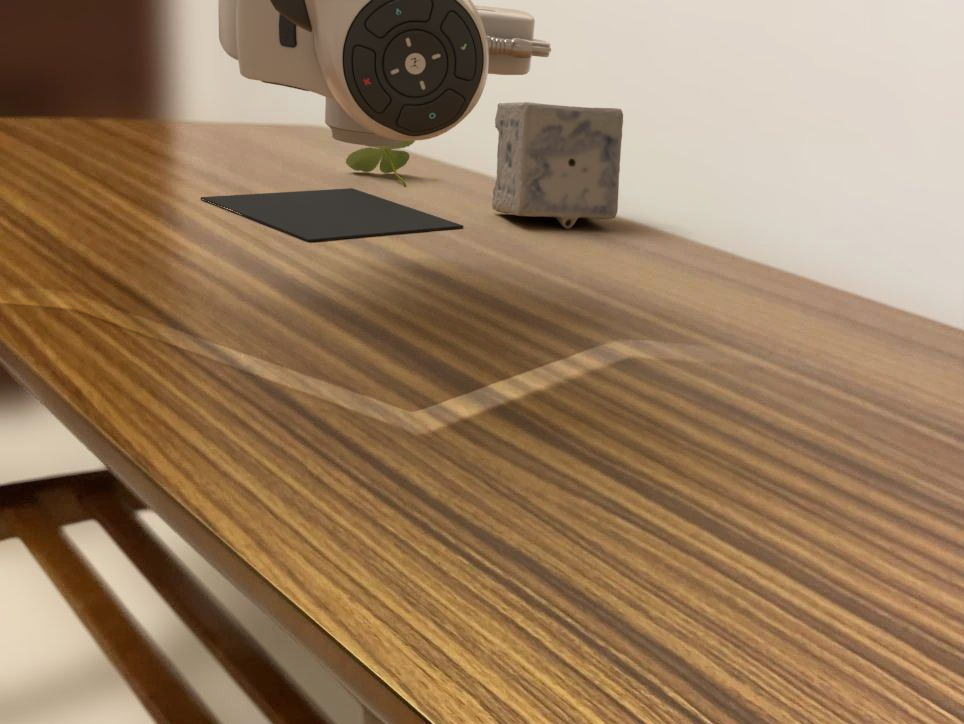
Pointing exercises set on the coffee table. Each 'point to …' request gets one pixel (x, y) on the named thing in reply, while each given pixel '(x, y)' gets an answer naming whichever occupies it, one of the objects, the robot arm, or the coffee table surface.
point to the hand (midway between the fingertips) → (371, 18)
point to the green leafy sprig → (371, 157)
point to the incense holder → (558, 161)
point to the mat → (331, 214)
